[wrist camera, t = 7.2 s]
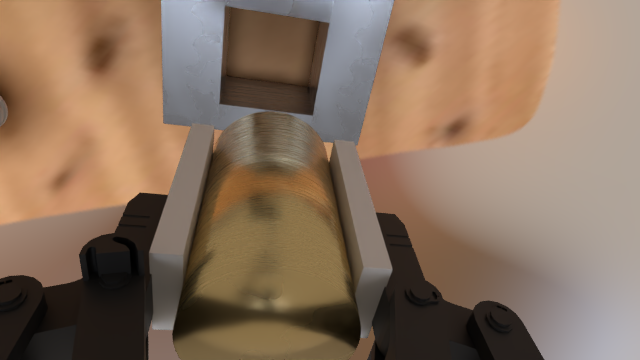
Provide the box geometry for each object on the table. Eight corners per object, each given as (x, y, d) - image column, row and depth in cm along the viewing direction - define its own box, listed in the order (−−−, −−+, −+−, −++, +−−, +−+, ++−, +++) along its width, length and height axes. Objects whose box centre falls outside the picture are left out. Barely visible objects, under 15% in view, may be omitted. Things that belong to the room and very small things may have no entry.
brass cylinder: (216, 103, 16) (174, 263, 9) (337, 120, 16) (382, 279, 10) (209, 203, 18) (171, 390, 11) (315, 214, 19) (339, 395, 12)
